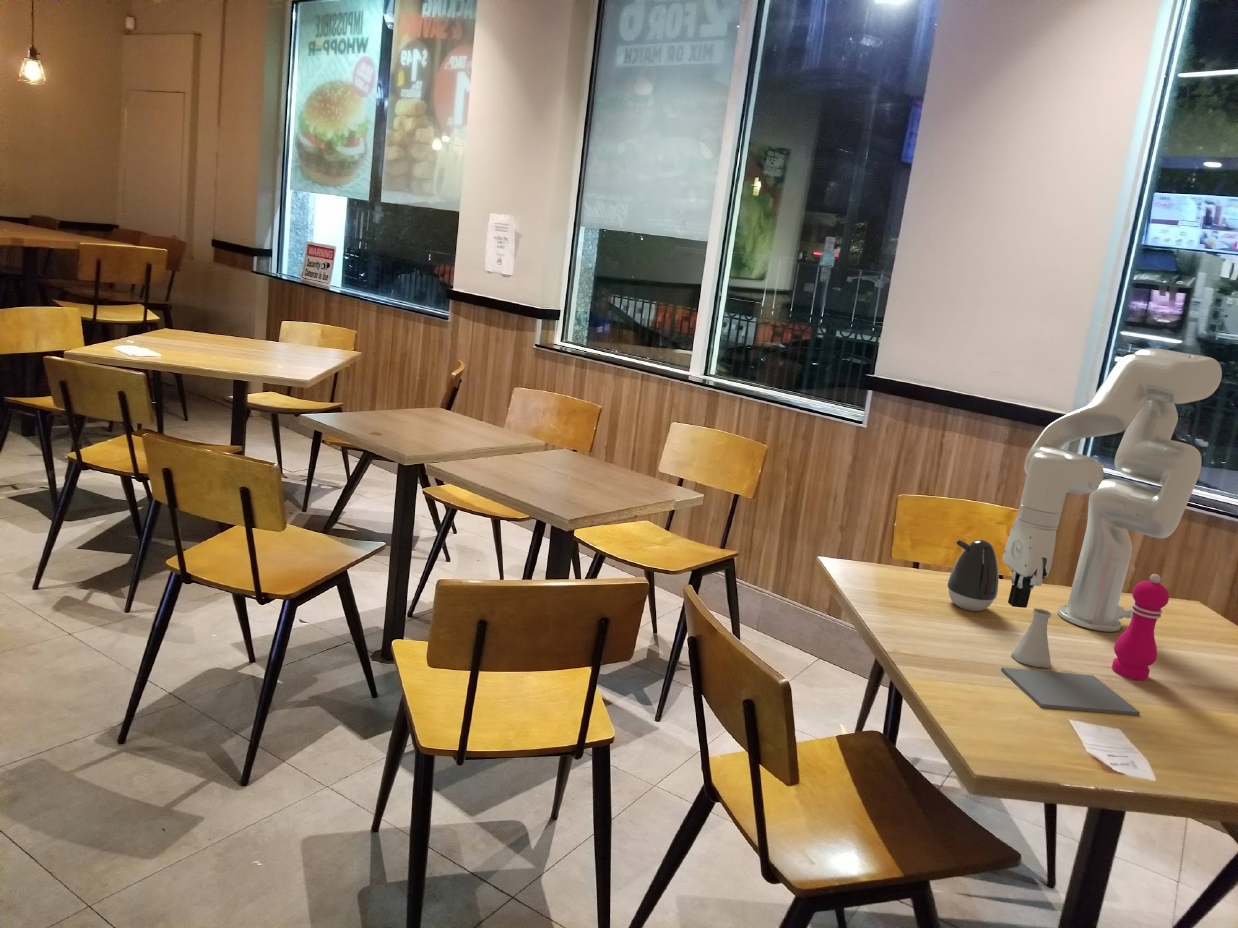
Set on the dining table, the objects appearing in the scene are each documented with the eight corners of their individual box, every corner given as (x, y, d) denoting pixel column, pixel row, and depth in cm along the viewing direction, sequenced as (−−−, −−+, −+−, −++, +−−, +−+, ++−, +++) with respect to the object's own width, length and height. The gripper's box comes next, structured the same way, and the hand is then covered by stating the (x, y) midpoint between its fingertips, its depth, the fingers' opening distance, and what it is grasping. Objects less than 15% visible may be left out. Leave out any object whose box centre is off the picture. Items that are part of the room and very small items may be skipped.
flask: (1054, 672, 177) (1067, 622, 175) (1014, 664, 178) (1026, 614, 176) (1046, 657, 184) (1058, 608, 182) (1007, 649, 185) (1018, 601, 183)
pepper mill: (1146, 670, 184) (1173, 573, 179) (1153, 685, 177) (1182, 584, 173) (1106, 661, 186) (1131, 564, 181) (1111, 675, 179) (1138, 575, 175)
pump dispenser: (938, 594, 213) (953, 529, 209) (986, 602, 212) (1001, 537, 208) (947, 610, 203) (962, 542, 200) (997, 619, 202) (1013, 551, 198)
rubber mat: (1092, 678, 176) (1093, 675, 176) (1139, 715, 163) (1140, 712, 163) (1001, 670, 174) (1001, 667, 174) (1040, 707, 161) (1041, 703, 161)
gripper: (1001, 504, 191) (981, 590, 195) (1040, 526, 176) (1017, 618, 180) (1037, 508, 191) (1016, 593, 195) (1078, 530, 177) (1054, 622, 181)
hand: (1017, 605), depth 188 cm, fingers closed
